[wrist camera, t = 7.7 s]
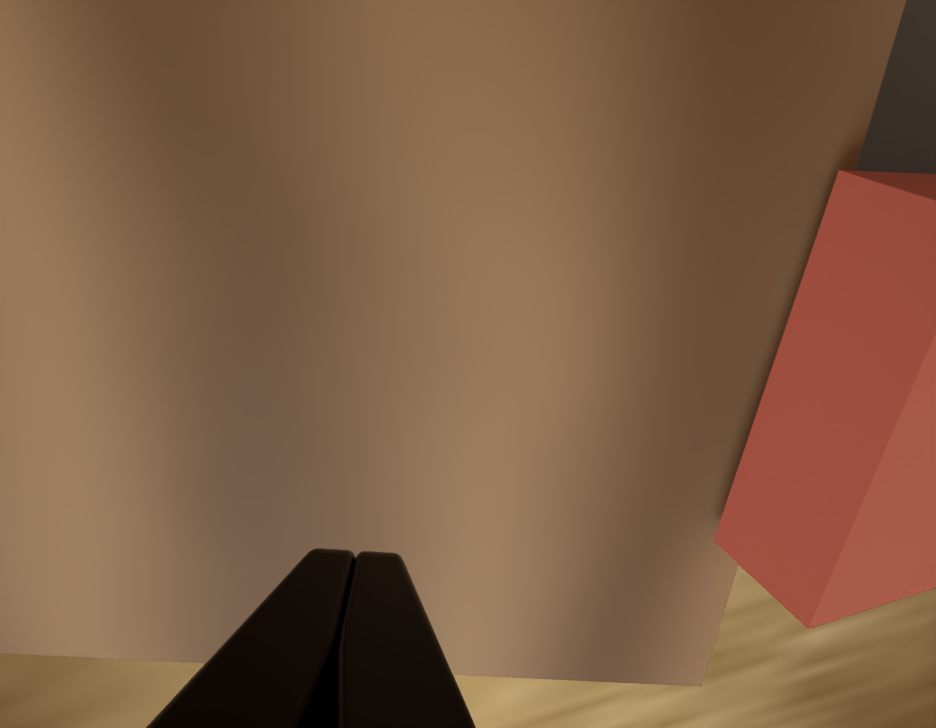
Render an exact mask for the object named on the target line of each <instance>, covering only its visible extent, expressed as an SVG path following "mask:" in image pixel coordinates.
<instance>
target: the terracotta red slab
mask: <svg viewBox="0 0 936 728" xmlns="http://www.w3.org/2000/svg"><path fill="white" fill-rule="evenodd" d="M713 541H714V542H715V543H716V544H717V545H719V546H720V547H721V548H722V549H723V550H724V551H725V552H726V553H727V554H728V555H729V556H730V557H731V558H733V559H734V560H735V561H736V562H737V563H738V564H739V565H740V566H741V567H742V568H743V569H744V570H745V571H747V572H748V573H749V574H750V575H751V576H752V577H753V578H754V579H755V580H756V581H757V582H758V583H759V584H761V585H762V586H763V587H764V588H765V589H766V590H767V591H768V592H769V593H770V594H771V595H772V596H773V597H775V598H776V599H777V600H778V601H779V602H780V603H781V604H782V605H783V606H784V607H785V608H786V609H787V610H789V611H790V612H791V613H792V614H793V615H794V616H795V617H796V618H797V619H798V620H799V621H800V622H801V623H803V624H804V625H805V626H806V627H807V628H808V629H809V628H812V627H815V626H818V625H821V624H825V623H828V622H831V621H834V620H837V619H840V618H843V617H846V616H849V615H853V614H856V613H859V612H862V611H865V610H868V609H871V608H874V607H877V606H880V605H884V604H887V603H890V602H893V601H896V600H899V599H902V598H905V597H908V596H912V595H915V594H918V593H921V592H924V591H927V590H930V589H933V588H936V174H921V173H897V172H873V171H850V170H839V171H838V174H837V177H836V180H835V183H834V186H833V189H832V192H831V195H830V198H829V201H828V203H827V206H826V209H825V212H824V215H823V218H822V221H821V224H820V227H819V230H818V233H817V236H816V239H815V242H814V245H813V248H812V251H811V254H810V257H809V260H808V263H807V266H806V269H805V271H804V274H803V277H802V280H801V283H800V286H799V289H798V292H797V295H796V298H795V301H794V304H793V307H792V310H791V313H790V316H789V319H788V322H787V325H786V328H785V331H784V334H783V336H782V339H781V342H780V345H779V348H778V351H777V354H776V357H775V360H774V363H773V366H772V369H771V372H770V375H769V378H768V381H767V384H766V387H765V390H764V393H763V396H762V399H761V402H760V404H759V407H758V410H757V413H756V416H755V419H754V422H753V425H752V428H751V431H750V434H749V437H748V440H747V443H746V446H745V449H744V452H743V455H742V458H741V461H740V464H739V467H738V469H737V472H736V475H735V478H734V481H733V484H732V487H731V490H730V493H729V496H728V499H727V502H726V505H725V508H724V511H723V514H722V517H721V520H720V523H719V526H718V529H717V532H716V535H715V537H714V540H713Z"/></svg>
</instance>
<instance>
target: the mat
mask: <svg viewBox="0 0 936 728" xmlns="http://www.w3.org/2000/svg"><path fill="white" fill-rule="evenodd" d="M855 171H873V172H897V173H921V174H936V0H906V3H905V6H904V10H903V13H902V16H901V20H900V23H899V26H898V30H897V33H896V36H895V40H894V43H893V46H892V50H891V53H890V57H889V60H888V63H887V67H886V70H885V73H884V77H883V80H882V83H881V87H880V90H879V93H878V97H877V100H876V103H875V107H874V110H873V114H872V117H871V120H870V124H869V127H868V130H867V134H866V137H865V140H864V144H863V147H862V150H861V154H860V157H859V160H858V164H857V167H856V170H855Z"/></svg>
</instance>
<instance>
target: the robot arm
mask: <svg viewBox="0 0 936 728" xmlns="http://www.w3.org/2000/svg"><path fill="white" fill-rule="evenodd" d="M146 728H476V727H475V725H474V722H473V720H472V718H471V715H470V713H469V711H468V708H467V706H466V704H465V701H464V699H463V697H462V695H461V692H460V690H459V688H458V685H457V683H456V681H455V678H454V676H453V674H452V671H451V669H450V667H449V664H448V662H447V660H446V658H445V655H444V653H443V651H442V648H441V646H440V644H439V641H438V639H437V637H436V634H435V632H434V630H433V628H432V625H431V623H430V621H429V618H428V616H427V614H426V611H425V609H424V607H423V604H422V602H421V600H420V597H419V595H418V593H417V591H416V588H415V586H414V584H413V581H412V579H411V577H410V574H409V572H408V570H407V567H406V565H405V563H404V561H403V559H402V557H401V556H400V555H399V554H397V553H391V552H374V551H362V552H360V553H359V554H358V555H357V557H356V556H355V554H354V553H353V552H352V551H351V550H342V549H325V548H316V549H313V550H311V551H309V552H308V553H307V554H306V555H305V556H304V558H303V559H302V560H301V561H300V562H299V563H298V564H297V565H296V566H295V567H294V568H293V569H292V571H291V572H290V573H289V574H288V575H287V576H286V577H285V578H284V579H283V580H282V581H281V582H280V584H279V585H278V586H277V587H276V588H275V589H274V590H273V591H272V592H271V593H270V594H269V595H268V596H267V598H266V599H265V600H264V601H263V602H262V603H261V604H260V605H259V606H258V607H257V608H256V609H255V611H254V612H253V613H252V614H251V615H250V616H249V617H248V618H247V619H246V620H245V621H244V622H243V624H242V625H241V626H240V627H239V628H238V629H237V630H236V631H235V632H234V633H233V634H232V635H231V637H230V638H229V639H228V640H227V641H226V642H225V643H224V644H223V645H222V646H221V647H220V648H219V649H218V651H217V652H216V653H215V654H214V655H213V656H212V657H211V658H210V659H209V660H208V661H207V662H206V664H205V665H204V666H203V667H202V668H201V669H200V670H199V671H198V672H197V673H196V674H195V675H194V677H193V678H192V679H191V680H190V681H189V682H188V683H187V684H186V685H185V686H184V687H183V688H182V689H181V691H180V692H179V693H178V694H177V695H176V696H175V697H174V698H173V699H172V700H171V701H170V702H169V704H168V705H167V706H166V707H165V708H164V709H163V710H162V711H161V712H160V713H159V714H158V715H157V717H156V718H155V719H154V720H153V721H152V722H151V723H150V724H149V725H148V726H147V727H146Z"/></svg>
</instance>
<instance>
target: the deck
mask: <svg viewBox="0 0 936 728" xmlns="http://www.w3.org/2000/svg"><path fill="white" fill-rule="evenodd" d="M905 3H906V0H0V653H2V654H23V655H44V656H65V657H87V658H108V659H129V660H151V661H172V662H193V663H206V662H207V661H208V660H209V659H210V658H211V657H212V656H213V655H214V654H215V653H216V652H217V651H218V649H219V648H220V647H221V646H222V645H223V644H224V643H225V642H226V641H227V640H228V639H229V638H230V637H231V635H232V634H233V633H234V632H235V631H236V630H237V629H238V628H239V627H240V626H241V625H242V624H243V622H244V621H245V620H246V619H247V618H248V617H249V616H250V615H251V614H252V613H253V612H254V611H255V609H256V608H257V607H258V606H259V605H260V604H261V603H262V602H263V601H264V600H265V599H266V598H267V596H268V595H269V594H270V593H271V592H272V591H273V590H274V589H275V588H276V587H277V586H278V585H279V584H280V582H281V581H282V580H283V579H284V578H285V577H286V576H287V575H288V574H289V573H290V572H291V571H292V569H293V568H294V567H295V566H296V565H297V564H298V563H299V562H300V561H301V560H302V559H303V558H304V556H305V555H306V554H307V553H308V552H309V551H311V550H313V549H316V548H325V549H342V550H351V551H352V552H353V553H354V554H355V556H356V557H357V555H358V554H359V553H360V552H362V551H374V552H391V553H397V554H399V555H400V556H401V557H402V559H403V561H404V563H405V565H406V567H407V570H408V572H409V574H410V577H411V579H412V581H413V584H414V586H415V588H416V591H417V593H418V595H419V597H420V600H421V602H422V604H423V607H424V609H425V611H426V614H427V616H428V618H429V621H430V623H431V625H432V628H433V630H434V632H435V634H436V637H437V639H438V641H439V644H440V646H441V648H442V651H443V653H444V655H445V658H446V660H447V662H448V664H449V667H450V669H451V671H452V674H453V675H470V676H491V677H513V678H534V679H555V680H576V681H598V682H619V683H640V684H662V685H683V686H702V683H703V680H704V677H705V673H706V670H707V666H708V663H709V660H710V656H711V653H712V650H713V646H714V643H715V640H716V636H717V633H718V630H719V626H720V623H721V620H722V616H723V613H724V610H725V606H726V603H727V599H728V596H729V593H730V589H731V586H732V583H733V579H734V576H735V573H736V569H737V566H738V563H737V562H736V561H735V560H734V559H733V558H731V557H730V556H729V555H728V554H727V553H726V552H725V551H724V550H723V549H722V548H721V547H720V546H719V545H717V544H716V543H715V542H714V541H713V540H714V537H715V535H716V532H717V529H718V526H719V523H720V520H721V517H722V514H723V511H724V508H725V505H726V502H727V499H728V496H729V493H730V490H731V487H732V484H733V481H734V478H735V475H736V472H737V469H738V467H739V464H740V461H741V458H742V455H743V452H744V449H745V446H746V443H747V440H748V437H749V434H750V431H751V428H752V425H753V422H754V419H755V416H756V413H757V410H758V407H759V404H760V402H761V399H762V396H763V393H764V390H765V387H766V384H767V381H768V378H769V375H770V372H771V369H772V366H773V363H774V360H775V357H776V354H777V351H778V348H779V345H780V342H781V339H782V336H783V334H784V331H785V328H786V325H787V322H788V319H789V316H790V313H791V310H792V307H793V304H794V301H795V298H796V295H797V292H798V289H799V286H800V283H801V280H802V277H803V274H804V271H805V269H806V266H807V263H808V260H809V257H810V254H811V251H812V248H813V245H814V242H815V239H816V236H817V233H818V230H819V227H820V224H821V221H822V218H823V215H824V212H825V209H826V206H827V203H828V201H829V198H830V195H831V192H832V189H833V186H834V183H835V180H836V177H837V174H838V171H839V170H850V171H855V170H856V167H857V164H858V160H859V157H860V154H861V150H862V147H863V144H864V140H865V137H866V134H867V130H868V127H869V124H870V120H871V117H872V114H873V110H874V107H875V103H876V100H877V97H878V93H879V90H880V87H881V83H882V80H883V77H884V73H885V70H886V67H887V63H888V60H889V57H890V53H891V50H892V46H893V43H894V40H895V36H896V33H897V30H898V26H899V23H900V20H901V16H902V13H903V10H904V6H905Z"/></svg>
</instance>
